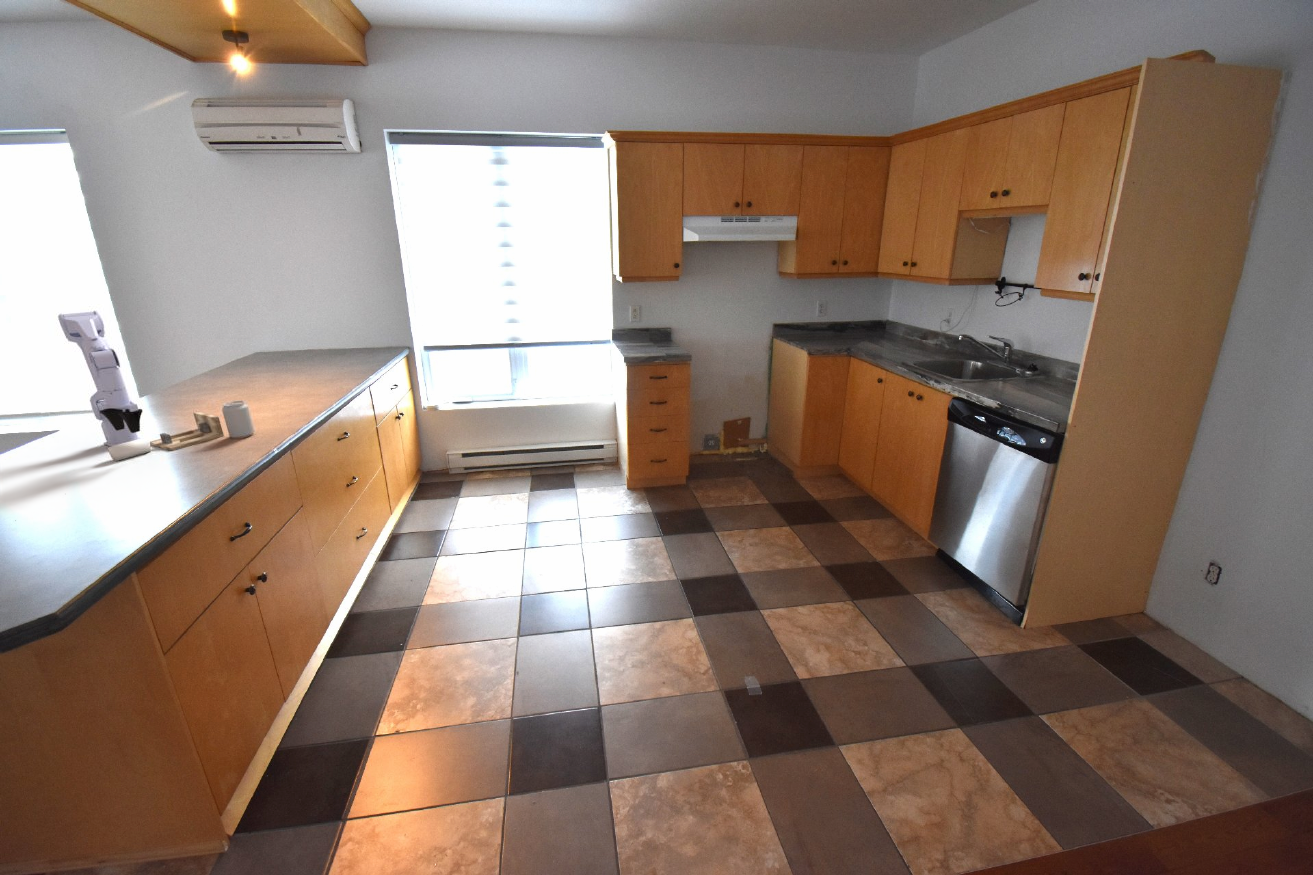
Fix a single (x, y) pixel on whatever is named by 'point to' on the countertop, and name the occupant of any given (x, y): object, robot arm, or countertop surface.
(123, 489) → the countertop surface
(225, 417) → the can
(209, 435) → the roll holder
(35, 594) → the countertop surface
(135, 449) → the cylinder
